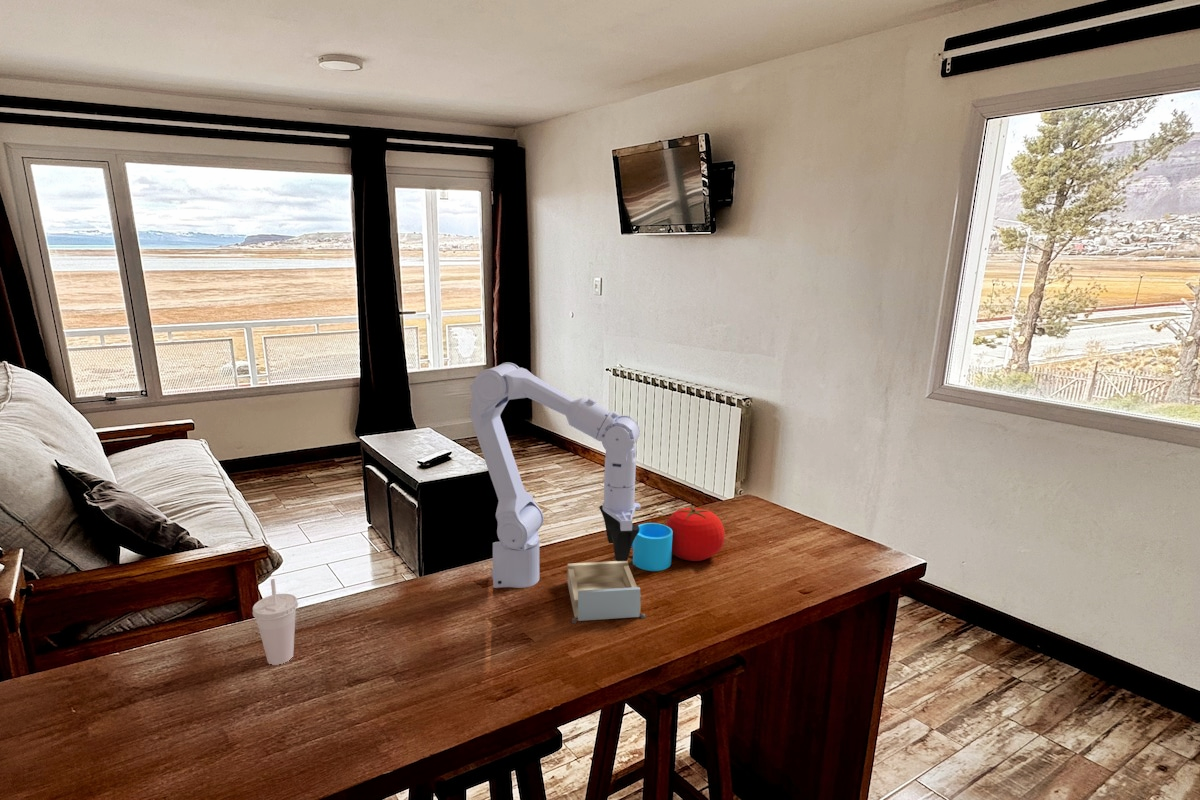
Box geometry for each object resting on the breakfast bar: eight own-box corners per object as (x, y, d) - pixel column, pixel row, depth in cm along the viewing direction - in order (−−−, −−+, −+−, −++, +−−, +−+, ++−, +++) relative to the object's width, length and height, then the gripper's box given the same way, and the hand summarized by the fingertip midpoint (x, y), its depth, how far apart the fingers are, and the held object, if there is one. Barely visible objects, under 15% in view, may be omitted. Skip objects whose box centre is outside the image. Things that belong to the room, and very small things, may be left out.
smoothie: (257, 675, 97) (248, 592, 94) (258, 652, 103) (249, 573, 100) (303, 663, 100) (296, 583, 97) (301, 642, 106) (294, 565, 103)
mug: (678, 569, 134) (680, 533, 132) (648, 579, 130) (649, 542, 128) (644, 548, 144) (646, 514, 142) (615, 556, 139) (616, 521, 138)
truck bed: (572, 628, 112) (572, 602, 110) (564, 586, 126) (564, 563, 125) (645, 623, 114) (646, 597, 112) (629, 583, 128) (630, 560, 127)
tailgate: (578, 620, 112) (578, 592, 110) (577, 618, 112) (578, 590, 111) (639, 616, 113) (640, 589, 112) (638, 614, 114) (639, 587, 113)
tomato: (654, 548, 143) (656, 503, 141) (704, 540, 148) (707, 496, 146) (679, 572, 132) (682, 523, 130) (733, 563, 137) (736, 515, 135)
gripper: (650, 496, 110) (647, 567, 113) (632, 469, 124) (630, 533, 127) (610, 497, 109) (608, 570, 112) (597, 470, 123) (595, 535, 126)
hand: (617, 551), depth 120 cm, fingers open, 7 cm apart
